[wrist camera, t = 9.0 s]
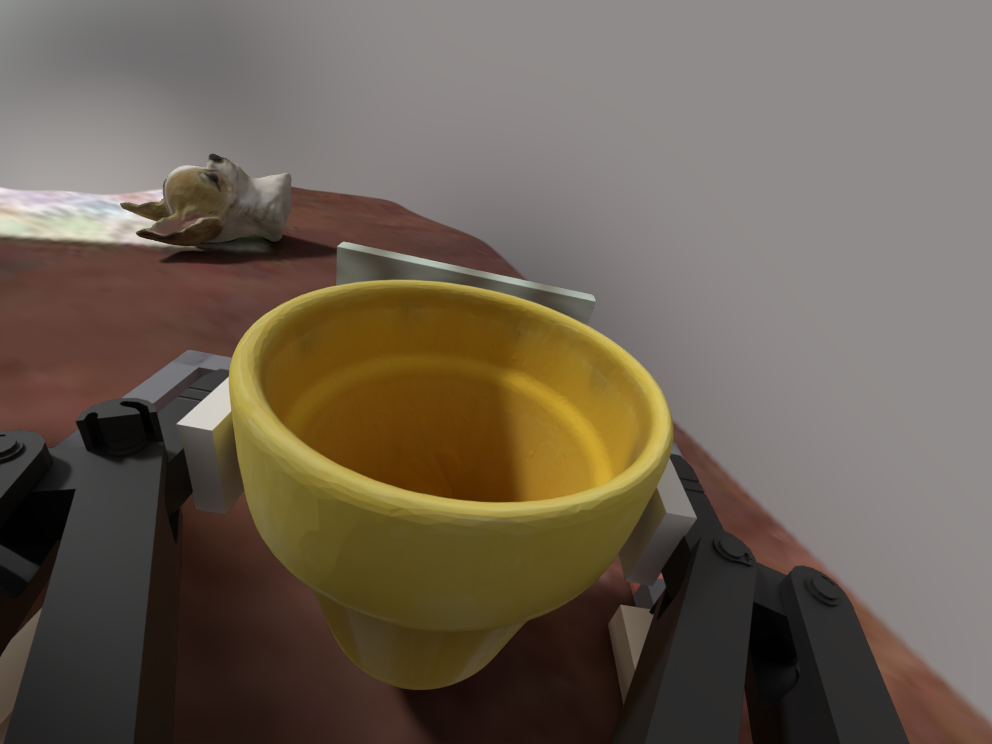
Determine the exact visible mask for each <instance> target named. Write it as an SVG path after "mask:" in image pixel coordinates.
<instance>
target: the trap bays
mask: <svg viewBox="0 0 992 744" xmlns="http://www.w3.org/2000/svg"><path fill="white" fill-rule="evenodd" d="M231 361H232V358H230V357H224V356H219V355H214V354H208V353H203V352H198V351H193V350H187V351H186V352H185V353H183V354H182V355H181V356H179V357H178V358H176V359H175V360H174V361H172V362H171V363H169V364H168V365H167V366H165V367H164V368H163V369H161V370H160V371H158V372H157V373H156V374H154V375H153V376H151V377H150V378H149V379H147V380H146V381H145V382H143V383H142V384H140V385H139V386H138V387H136V388H135V389H134V390H132V391H131V392H129V393H128V394H127V395H125V396H124V397H122V398H139V399H143V400H148V401H149V402H151V403H152V404H154V405H155V407H156V411H157V413H158V412H159V411H161V410H162V409H163V408H164V407H166V406H167V405H168V404H169V403H170V402H172V401H173V400H174V399H175V398H178V397H179V395H180V394H181V393H182V392H184V391H185V390H186V389H189V387H190V386H191V385H192V384H193V383H195V382H196V381H197V380H198V379H199V378H201V377H202V376H204V375H206V374H209V373H211V372H213V371H216V370H218V369H220V368H221V369H226V370H230V364H231ZM69 447H85V445H84V442H83V439H82V437H81V434H80V431H79V429H78V430H77V431H75V432H74V433H73V434H71V435H70V436H68V437H67V438H66V439H64V440H63V441H62V442H60V443H59V444H57V445H56V446H55V447H53V448H69ZM671 454H676V455H681V453H680V451H679V449H678V447H677V445H676V443H675V442H674V441H673V445H672V450H671ZM681 456H682V455H681ZM682 458H683V457H682ZM630 586H631V590H632V594H633V598H634V602H635V606H636V607H638V608H645V609H651V608H652V607H653V605H654V604H655V602H656V601H657V599H658V598H659V597H660V595H661V594H662V592H663V591H664V589H665V588H666V585H665V582H664V579H663V576H662V573H661V574H660V575H659V577H658V578H657V580H656V581H655V583H654V584H653V586H649V585H643V584H637V583H631V582H630Z"/></svg>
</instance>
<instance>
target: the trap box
mask: <svg viewBox="0 0 992 744" xmlns="http://www.w3.org/2000/svg"><path fill="white" fill-rule="evenodd" d="M378 280H421V281H435V282H446V283H453V284H459V285H466V286H471V287H477V288H482V289H486V290H492V291H496V292H500V293H504V294H508V295H512V296H515V297H518V298H521V299H525V300H528V301H531V302H534V303H537V304H540V305H542V306H545V307H548V308H550V309H552V310H555V311H557V312H559V313H562V314H564V315H567V316H569V317H571V318H573V319H575V320H577V321H579V322H581V323H583V324H585V325H587V326H588V323H589V320H590V317H591V314H592V312H593V309H594V306H595V303H596V301H595V299H594V296H593V295H590V294H585V293H581V292H576V291H571V290H567V289H562V288H557V287H553V286H548V285H544V284H539V283H534V282H530V281H525V280H520V279H516V278H511V277H506V276H502V275H497V274H492V273H488V272H483V271H478V270H474V269H469V268H464V267H460V266H455V265H450V264H446V263H441V262H436V261H432V260H427V259H422V258H418V257H413V256H408V255H403V254H399V253H394V252H389V251H385V250H380V249H375V248H371V247H366V246H361V245H357V244H352V243H347V242H342V243H341V244H340V245H338V246H337V279H336V286H338V285H343V284H350V283H356V282H366V281H378ZM41 610H42V608H41V609H40V610H39V611H38V612H37V613H36V614H35V615H34V616H33V617H32V618H31V619H30V621H29V622H28V623H27V624H26V625H25V626H24V627H23V628H22V629H21V630H20V631H19V632H18V633H17V634H16V635H15V636H14V637H13V638H12V639H11V641H10V642H9V644H8V645H7V647H6V649H5V650H4V652H3V654H2V655H1V657H0V744H3V743H4V739H5V736H6V732H7V729H8V725H9V722H10V718H11V715H12V711H13V708H14V704H15V701H16V697H17V694H18V690H19V687H20V683H21V680H22V676H23V673H24V669H25V666H26V662H27V659H28V655H29V652H30V648H31V645H32V641H33V638H34V634H35V631H36V627H37V624H38V620H39V617H40V613H41ZM650 610H651V609H645V608H638V607H632V606H626V605H620V606H619V608H618V609H617V611H616V613H615V614H614V616H613V617H612V619H611V621H610V622H609V624H608V627H609V633H610V638H611V643H612V648H613V654H614V659H615V664H616V669H617V675H618V680H619V685H620V690H621V696H622V701H623V705H624V702H625V699H626V696H627V693H628V690H629V687H630V684H631V681H632V678H633V675H634V672H635V669H636V666H637V663H638V660H639V657H640V654H641V651H642V648H643V645H644V642H645V639H646V636H647V633H648V630H649V627H650V624H651V621H652V618H653V615H654V614H653V615H652V614H651V613H649V611H650Z"/></svg>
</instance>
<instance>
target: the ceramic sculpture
mask: <svg viewBox="0 0 992 744" xmlns="http://www.w3.org/2000/svg"><path fill="white" fill-rule="evenodd" d="M163 196H164V198H163V199H162V200H161V201H160V202H149V203H144V204H141V205H137V204H133V203H129V202H128V203H120V205H121V207H122V208H123V209H126V210H128V211H130V212H133V213H135V214H138V215H140V216H142V217H145V218H148V219H151V220H154V221H157V222H156V223H155V224H154V225H153V226H152V227H151V228H149V229H145V230H140V231H137V232H136V234H137V235H138V236H139V237H142V238H146V239H150V240H155V241H159V242H163V243H167V244H172V245H179V246H194V245H198V244H201V243H204V242H207V243H218V242H226V241H231V240H234V239H237V238H240V237H245V236H252V235H259V236H261V237H263V238H266V239H268V240H270V241H273V242H277V241H279V240H280V239H281V238H282V235H283V231H284V226H285V223H286V220H287V218H288V216H289V213H290V211H291V176H290V174H289V173H283V174H280V175H272V176H267V177H264V178H258V179H257V178H252V177H249V176H248V175H247V174H245V173H244V171H243V170H242V169H241V167H240V166H238V165H237V164H235V163H233V162H231V161H229V160H228V159H226V158H222V157H220V156H218V155H216V154H210V155H209V159H208V162H207V167H203V166H186V165H185V166H181V167H178V168H176V169H175V170H174V171H172V172H171V173H170V174H169V175H168V177H167V178H166V179H165V181H164V184H163Z"/></svg>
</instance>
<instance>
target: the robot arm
mask: <svg viewBox="0 0 992 744" xmlns="http://www.w3.org/2000/svg"><path fill="white" fill-rule="evenodd" d="M76 423H77V426H78V429H79V431H80V434H81V437H82V439H83V442H84V445H85V447H69V448H47V446H46V443H45V441H44V439H43V436H42V435H39V434H37V433H35V432H32V431H22V430H17V431H7V432H1V433H0V657H1V655H2V654H3V652H4V650H5V649H6V647H7V645H8V644H9V642H10V641H11V639H12V637H13V636H14V634H15V632H16V631H17V629H18V628H19V626H20V624H21V623H22V621H23V620H24V618H25V616H26V615H27V613H28V611H29V610H30V608H31V607H32V605H33V603H34V602H35V600H36V599H37V597H38V595H39V594H40V592H41V590H42V589H43V587H44V586H45V584H46V582H47V581H48V579H49V577H50V576H51V578H50V582H49V585H48V589H47V592H46V596H45V599H44V603H43V606H42V610H41V613H40V617H39V620H38V624H37V627H36V631H35V634H34V638H33V641H32V645H31V648H30V652H29V655H28V659H27V662H26V666H25V669H24V673H23V676H22V680H21V683H20V687H19V690H18V694H17V697H16V701H15V704H14V708H13V711H12V715H11V718H10V722H9V725H8V729H7V732H6V736H5V739H4V743H3V744H173V723H174V700H175V677H176V655H177V632H178V610H179V587H180V564H181V542H182V519H183V516H182V512H181V508H180V506H181V505H182V504H183V503H184V502H185V501H186V499H187V498H188V497H189V496H190V495H191V494H192V497H193V501H194V506H195V509H196V510H202V511H208V512H214V513H220V514H227V513H228V512H229V510H230V509H231V508H232V506H233V505H234V503H235V502H236V501H237V499H238V498H239V497H240V495H241V494H242V492H243V491H244V490H245V489H244V485H243V480H242V476H241V471H240V466H239V462H238V456H237V448H236V441H235V434H234V427H233V420H232V412H231V404H230V394H229V370H226V369H221V368H220V369H218V370H216V371H213V372H211V373H209V374H206V375H204V376H202V377H201V378H199V379H198V380H197V381H196V382H195V383H193V384H192V385H191V386H190V387H189V389H186V390H185V391H184V392H182V393H181V394H180V395H179V397H178V398H175V399H174V400H173V401H172V402H170V403H169V404H168V405H167V406H166V407H164V408H163V409H162V410H161V411H159V412H158V413H157V411H156V407H155V405H154V404H152V403H151V402H149V401H148V400H143V399H139V398H120V399H114V400H109V401H105V402H102V403H100V404H97V405H94V406H92V407H90V408H89V409H87V410H86V411H84V412H82V413H81V414H80V416H79V417H78V418H77V420H76ZM619 557H620V561H621V565H622V570H623V574H624V578H625V581H626V582H631V583H637V584H643V585H649V586H653V584H654V583H655V581H656V580H657V578H658V577H659V575H660V574H661V573H662V576H663V579H664V582H665V585H666V588H665V589H664V591H663V592H662V594H661V595H660V597H659V598H658V599H657V601H656V602H655V604H654V605H653V607H652V608H651V610H650V611H649V613H651V614H652V615H653V614H654V615H653V618H652V621H651V624H650V627H649V630H648V633H647V636H646V639H645V642H644V645H643V648H642V651H641V654H640V657H639V660H638V663H637V666H636V669H635V672H634V675H633V678H632V681H631V684H630V687H629V690H628V693H627V696H626V699H625V702H624V705H623V708H622V711H621V714H620V717H619V720H618V723H617V726H616V729H615V732H614V735H613V738H612V741H611V744H738V740H739V731H740V721H741V712H742V702H743V693H744V687H745V693H746V700H747V707H748V714H749V720H750V727H751V734H752V741H753V744H910V743H909V741H908V739H907V736H906V734H905V731H904V729H903V726H902V724H901V722H900V719H899V717H898V714H897V712H896V710H895V707H894V705H893V702H892V700H891V697H890V695H889V693H888V690H887V688H886V685H885V683H884V681H883V678H882V676H881V673H880V671H879V669H878V666H877V664H876V661H875V659H874V656H873V654H872V652H871V649H870V647H869V644H868V642H867V640H866V637H865V635H864V632H863V630H862V627H861V625H860V623H859V620H858V618H857V615H856V613H855V611H854V608H853V606H852V603H851V602H850V600H849V598H848V597H847V595H846V593H845V592H844V591H843V590H842V589H841V588H840V587H839V586H838V585H837V584H836V583H835V582H834V581H833V580H831V579H830V578H829V577H827V576H826V575H825V574H823V573H821V572H819V571H817V570H815V569H813V568H810V567H806V566H796V567H794V568H793V569H792V571H791V572H790V573H789V574H788V575H785V574H782V573H780V572H778V571H776V570H773V569H771V568H769V567H766V566H764V565H762V564H760V563H758V562H756V560H755V558H754V556H753V554H752V552H751V551H750V549H749V548H748V547H747V546H746V545H745V544H744V543H743V542H742V541H741V540H739V539H738V538H736V537H735V536H734V535H732V534H730V533H728V532H725V531H724V530H723V528H722V526H721V524H720V522H719V520H718V518H717V516H716V514H715V512H714V510H713V508H712V506H711V504H710V502H709V500H708V498H707V496H706V494H704V490H703V488H702V486H701V484H699V480H698V478H697V476H696V474H695V472H694V470H693V468H692V467H691V466H690V465H689V464H688V463H687V462H686V461H685V460H684V459H683V458H682V456H681V455H676V454H671V455H670V458H669V461H668V463H667V466H666V468H665V470H664V473H663V475H662V477H661V479H660V481H659V483H658V485H657V487H656V489H655V491H654V493H653V495H652V497H651V499H650V500H649V502H648V504H647V506H646V508H645V510H644V512H643V514H642V515H641V517H640V519H639V521H638V523H637V524H636V526H635V528H634V529H633V531H632V533H631V534H630V536H629V538H628V539H627V541H626V542H625V544H624V545H623V547H622V548H621V550H620V551H619ZM51 574H52V575H51Z"/></svg>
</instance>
